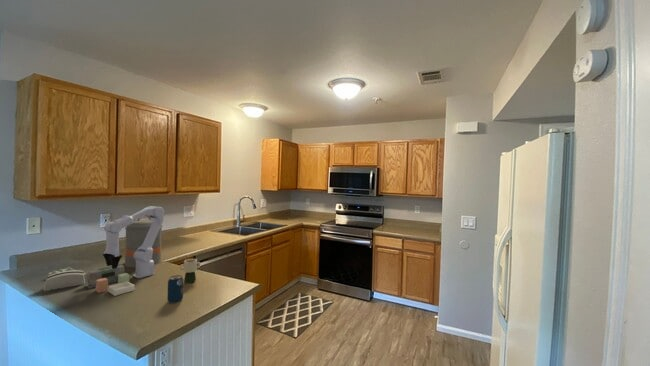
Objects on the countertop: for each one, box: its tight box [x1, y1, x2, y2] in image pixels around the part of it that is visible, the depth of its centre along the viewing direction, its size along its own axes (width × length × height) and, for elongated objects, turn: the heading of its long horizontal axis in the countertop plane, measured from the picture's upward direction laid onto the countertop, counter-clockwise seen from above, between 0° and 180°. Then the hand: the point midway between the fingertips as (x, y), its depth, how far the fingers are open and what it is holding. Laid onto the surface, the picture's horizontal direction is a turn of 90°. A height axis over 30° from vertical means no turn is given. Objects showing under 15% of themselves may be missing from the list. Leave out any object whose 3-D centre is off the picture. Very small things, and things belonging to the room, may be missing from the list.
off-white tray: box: [107, 281, 136, 297], centre depth 146 cm, size 9×9×3 cm
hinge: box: [43, 269, 87, 292], centre depth 149 cm, size 17×5×10 cm, turn 131°
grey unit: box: [84, 264, 126, 289], centre depth 157 cm, size 18×6×8 cm, turn 147°
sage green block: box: [117, 272, 130, 284], centre depth 154 cm, size 4×4×6 cm
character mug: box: [179, 258, 201, 284], centre depth 161 cm, size 11×7×13 cm, turn 123°
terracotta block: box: [95, 278, 109, 294], centre depth 145 cm, size 4×4×6 cm
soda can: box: [167, 274, 184, 304], centre depth 136 cm, size 7×7×12 cm
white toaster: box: [48, 266, 88, 276], centre depth 163 cm, size 14×6×15 cm
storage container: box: [124, 215, 163, 269], centre depth 194 cm, size 22×22×35 cm
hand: (112, 266), depth 153 cm, fingers open, 7 cm apart
